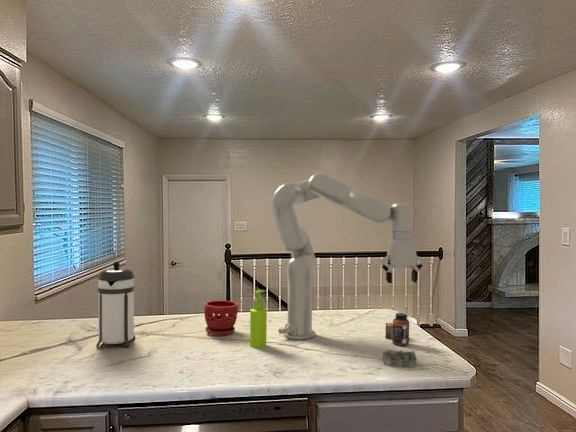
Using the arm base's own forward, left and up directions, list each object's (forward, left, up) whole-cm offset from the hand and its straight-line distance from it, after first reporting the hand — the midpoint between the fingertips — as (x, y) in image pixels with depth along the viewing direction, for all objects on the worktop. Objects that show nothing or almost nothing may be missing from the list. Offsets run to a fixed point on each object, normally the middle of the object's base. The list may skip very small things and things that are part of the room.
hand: (401, 282), depth 171 cm
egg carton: (-18, -11, -23) cm, 32 cm away
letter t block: (+5, +7, -23) cm, 24 cm away
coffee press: (-77, +71, -23) cm, 107 cm away
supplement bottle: (0, 0, -23) cm, 23 cm away
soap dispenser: (-40, +34, -23) cm, 58 cm away
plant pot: (-41, +56, -23) cm, 73 cm away
